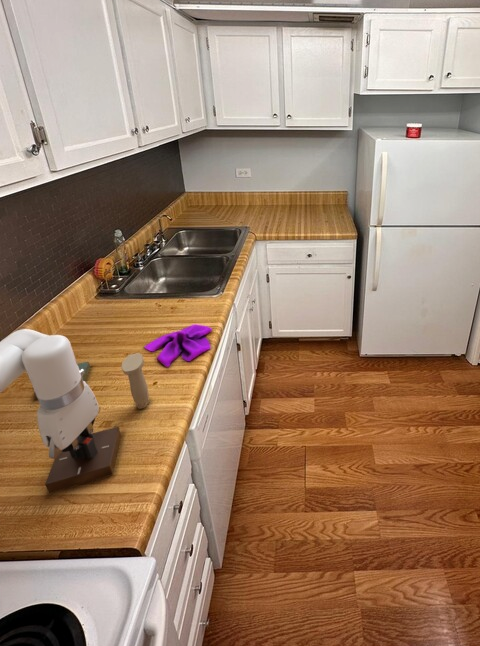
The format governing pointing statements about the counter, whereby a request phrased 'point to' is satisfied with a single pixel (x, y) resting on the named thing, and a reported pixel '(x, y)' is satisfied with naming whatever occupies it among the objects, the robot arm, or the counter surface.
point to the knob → (88, 446)
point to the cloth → (181, 344)
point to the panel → (85, 463)
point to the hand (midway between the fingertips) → (84, 451)
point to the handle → (136, 379)
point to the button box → (84, 366)
